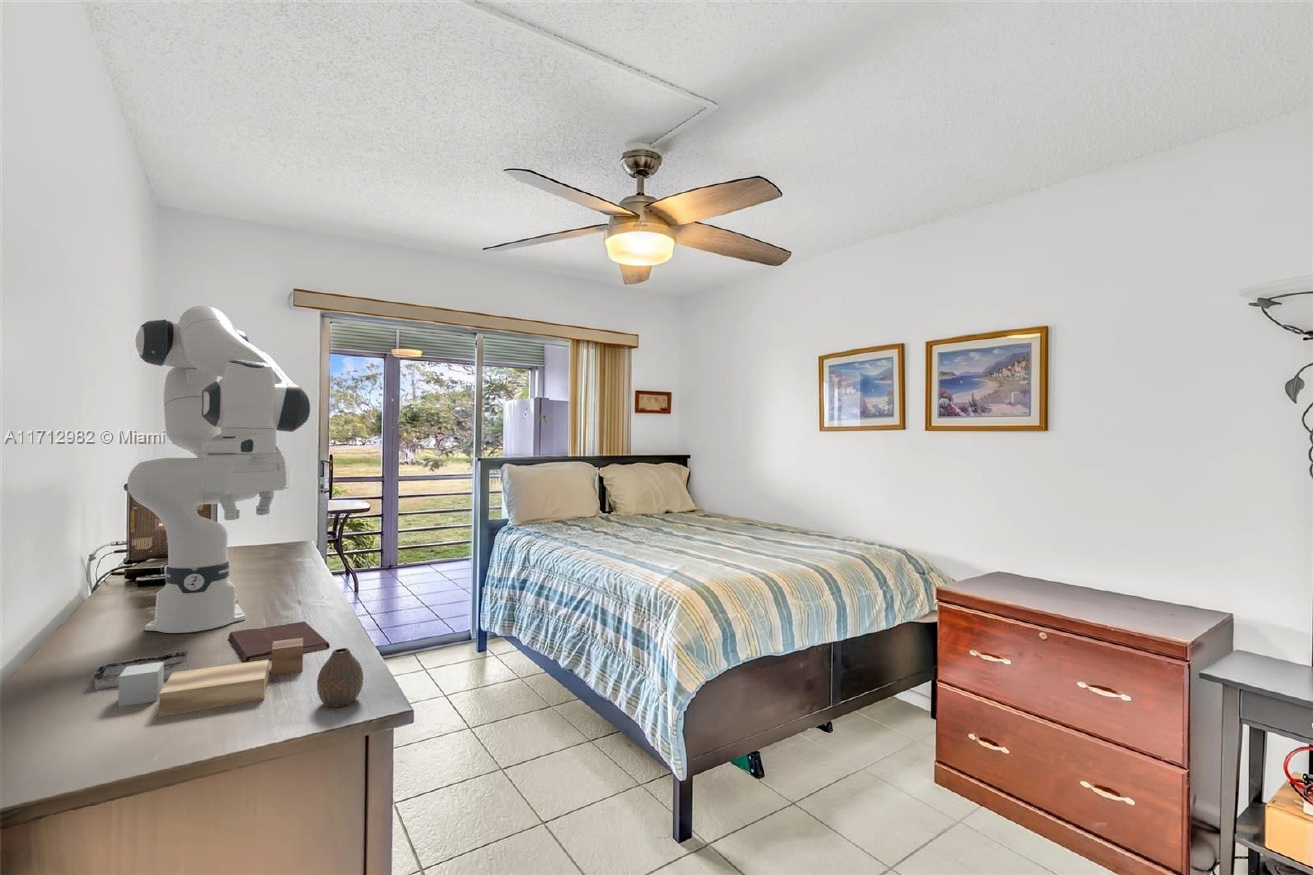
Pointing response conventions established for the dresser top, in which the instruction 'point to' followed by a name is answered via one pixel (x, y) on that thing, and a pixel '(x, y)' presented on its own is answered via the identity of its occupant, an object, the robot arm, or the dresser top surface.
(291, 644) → the walnut cube
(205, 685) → the oak block
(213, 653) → the dresser top surface
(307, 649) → the notebook
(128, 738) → the dresser top surface
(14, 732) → the dresser top surface
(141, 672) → the grey block
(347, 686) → the vase
